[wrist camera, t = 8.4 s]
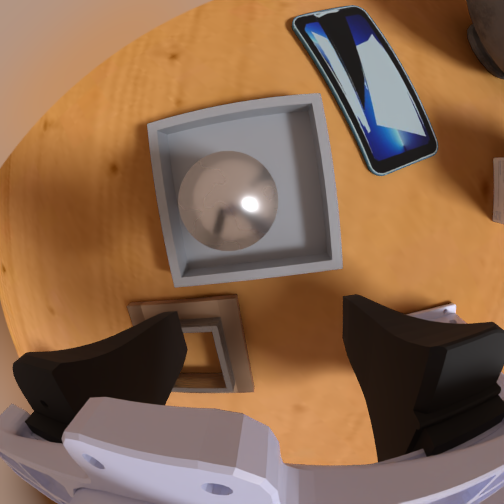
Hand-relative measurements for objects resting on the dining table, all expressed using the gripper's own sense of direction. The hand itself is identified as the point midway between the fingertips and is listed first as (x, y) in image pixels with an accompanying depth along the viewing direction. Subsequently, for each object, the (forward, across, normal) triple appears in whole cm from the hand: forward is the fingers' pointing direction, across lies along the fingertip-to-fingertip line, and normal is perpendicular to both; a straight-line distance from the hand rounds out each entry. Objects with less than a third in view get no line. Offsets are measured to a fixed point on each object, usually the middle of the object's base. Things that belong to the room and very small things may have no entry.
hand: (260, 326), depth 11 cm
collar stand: (+10, +8, +8) cm, 15 cm away
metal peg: (+10, +1, -5) cm, 11 cm away
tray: (+10, +1, -6) cm, 12 cm away
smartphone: (+11, -10, -14) cm, 20 cm away
